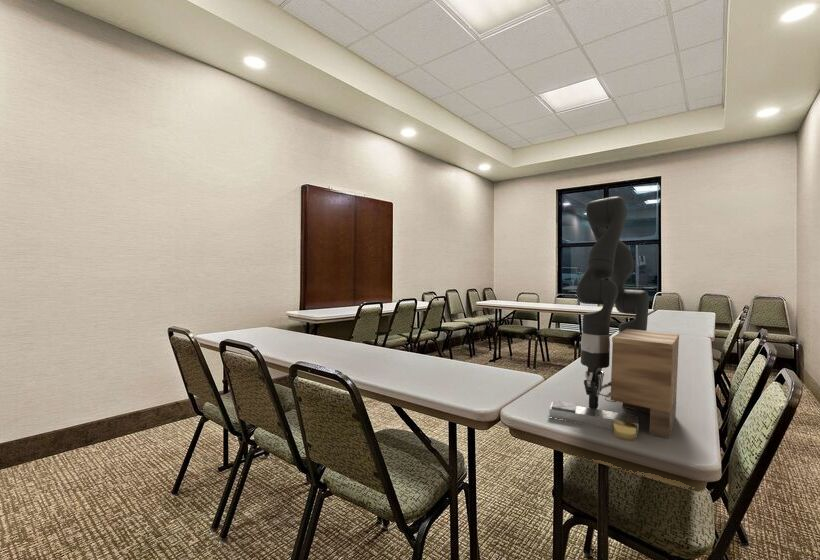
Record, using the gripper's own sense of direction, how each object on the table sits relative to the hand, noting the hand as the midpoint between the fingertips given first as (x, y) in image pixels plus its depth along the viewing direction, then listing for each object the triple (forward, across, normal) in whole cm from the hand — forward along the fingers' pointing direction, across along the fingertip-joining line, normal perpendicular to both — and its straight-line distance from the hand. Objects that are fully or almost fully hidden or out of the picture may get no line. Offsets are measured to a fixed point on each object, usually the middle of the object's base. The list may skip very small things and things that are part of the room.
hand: (593, 408), depth 111 cm
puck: (+1, +14, +10) cm, 17 cm away
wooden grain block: (+1, -1, +12) cm, 12 cm away
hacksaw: (+2, -24, +1) cm, 24 cm away
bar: (+1, +9, +2) cm, 9 cm away
